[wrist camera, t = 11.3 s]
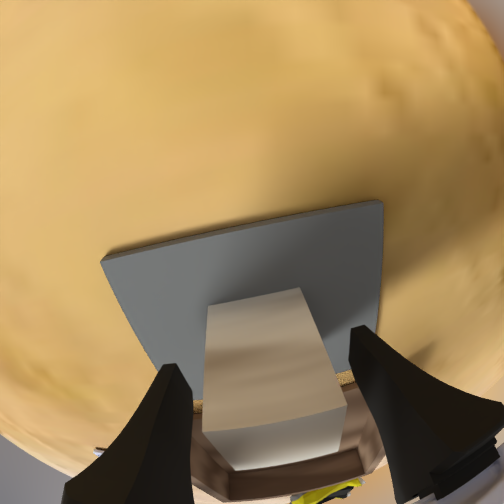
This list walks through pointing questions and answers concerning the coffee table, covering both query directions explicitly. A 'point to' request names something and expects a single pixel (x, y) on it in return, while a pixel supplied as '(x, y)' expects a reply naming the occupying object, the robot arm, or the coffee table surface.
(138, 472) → the robot arm
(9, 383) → the coffee table surface
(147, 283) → the mat
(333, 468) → the crate
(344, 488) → the gaming controller
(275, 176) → the coffee table surface
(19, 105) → the coffee table surface
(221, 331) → the block
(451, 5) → the coffee table surface
